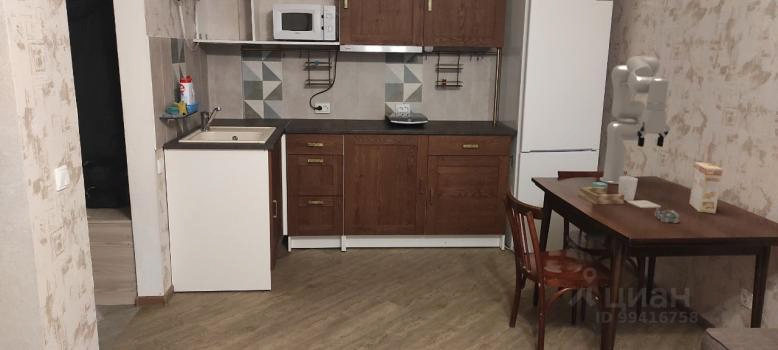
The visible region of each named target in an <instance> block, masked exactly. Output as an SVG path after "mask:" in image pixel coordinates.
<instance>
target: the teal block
mask: <svg viewBox="0 0 778 350" xmlns="http://www.w3.org/2000/svg"><path fill="white" fill-rule="evenodd" d="M608 186H609V183H606V182H602V181H598V182H597V181H596V182H592V183H591V187H606V188H607V189H608ZM606 195H608V192H607V193H606Z"/></svg>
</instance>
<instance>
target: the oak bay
mask: <svg viewBox="0 0 778 350" xmlns="http://www.w3.org/2000/svg"><path fill="white" fill-rule="evenodd" d="M606 193H607V194H606ZM578 197H580V198H581V197H582V199H584V200H585V201H588V202H590V203H592V204H594V205H618V204H619V205H622V204H623V205H624V201H625V200H624V195H623V194H619V193H618V194H616V193H615V194H608V188H606V187H592V186H590V187H579V188H578Z"/></svg>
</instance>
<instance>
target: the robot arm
mask: <svg viewBox="0 0 778 350" xmlns="http://www.w3.org/2000/svg"><path fill="white" fill-rule="evenodd" d="M659 69H660V61H659V59H658V58H657V57H656V56H649V55H648V56H647V55H635V56H631V57H629V58H628V59H627V60H626V64H621V65H616V66H615V67H613V69H612V71H611V83H612V87H613V97H612V109H611V114H612V115H611V116H612V117H614V118H616V119H624V121H622V120H615V121H611V122H609V124H608V125H607V129H606V134H607V139H606V140H607V142H606V143H607V145H606V151H605V160H604V169H603V176H601V177H599V182H601V183H605V184H612V185H614V184H615V185H619V177H621V176H629V177H632V175H631V174H626V173H624V172H625V164H626V157H627V147H626V145H625V143H623V142H624V141H634V142H635V141H637V146H638V147H641V148H643V147H644V146H645V139H646V138H645V136H646V135H647V134H649V135H650V134H654V135H655V134H657V135H658V137H657V140H656V146H657V147H661V148H662V147H664V146H663V145H664V141H665V138H666V136H668V134H669V132H670V131H671V127H670V126H668V124H667V123H666V122H667V113H666V109H667V107H668V105H667V104H666V102H667V95H668V90H669V83H670V82H669V80H668V79H667V78H663V77H660V76H656V75H657V74H658V72H659ZM632 93H634V94H640V95H642V94H643V95H647V98H646V103H644V102H643V101H642V100H633V99H632ZM625 119H627V120H633V121H625Z"/></svg>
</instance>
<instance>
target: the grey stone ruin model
mask: <svg viewBox="0 0 778 350" xmlns="http://www.w3.org/2000/svg"><path fill="white" fill-rule="evenodd" d="M655 209H656V211H655V212H654V217H655V218H657V219H658V220H660V222H661V223H672V224H678V223H679V221H680V214H679V213H677V212H676V211H675V210H674V209H673V210H668V209H667V210H665V209H663V211H661V209H660V208H657V207H655Z"/></svg>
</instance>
